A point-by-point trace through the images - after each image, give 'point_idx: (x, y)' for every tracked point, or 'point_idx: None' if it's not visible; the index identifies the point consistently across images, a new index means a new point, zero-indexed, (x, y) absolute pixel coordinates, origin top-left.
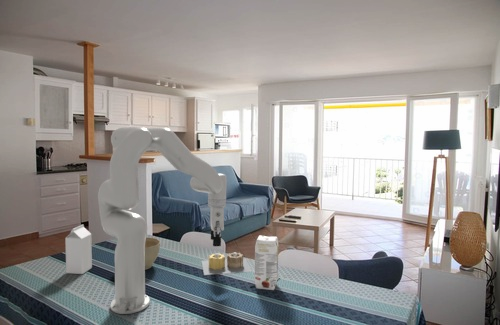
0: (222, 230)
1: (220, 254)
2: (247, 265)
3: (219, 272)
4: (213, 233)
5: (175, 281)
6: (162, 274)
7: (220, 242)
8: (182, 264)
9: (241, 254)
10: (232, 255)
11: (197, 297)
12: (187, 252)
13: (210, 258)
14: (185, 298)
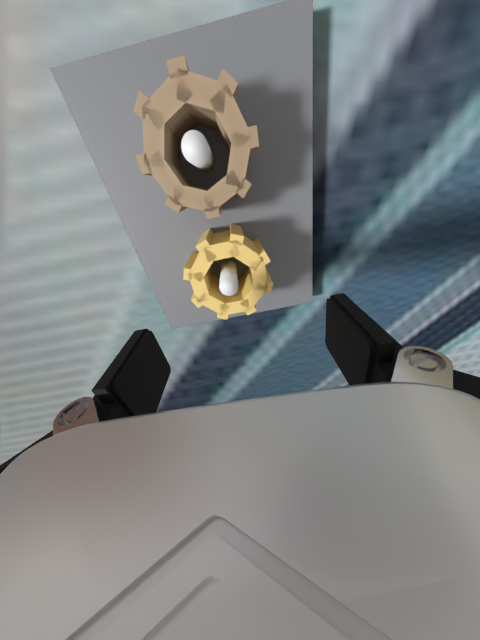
0: (448, 399)
1: (197, 264)
2: (198, 46)
3: (296, 244)
4: (148, 398)
5: (313, 363)
6: (264, 394)
7: (357, 309)
8: (190, 370)
9: (171, 79)
10: (179, 178)
11: (437, 295)
12: (79, 376)
13: (255, 308)
14: (427, 324)
